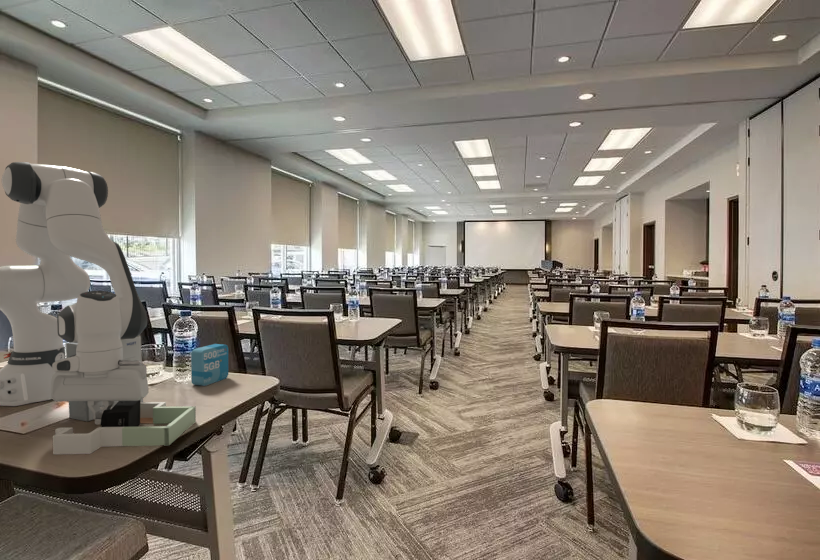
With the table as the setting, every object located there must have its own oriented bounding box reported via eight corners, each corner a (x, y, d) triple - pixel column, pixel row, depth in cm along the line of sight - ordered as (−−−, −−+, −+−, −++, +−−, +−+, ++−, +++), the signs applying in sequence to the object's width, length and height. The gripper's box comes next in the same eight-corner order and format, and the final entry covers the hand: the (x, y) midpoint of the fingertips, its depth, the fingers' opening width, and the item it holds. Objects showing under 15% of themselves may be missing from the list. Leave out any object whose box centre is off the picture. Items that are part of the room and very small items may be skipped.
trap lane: (43, 454, 90) (42, 436, 90) (106, 417, 111) (106, 402, 111) (161, 452, 92) (160, 434, 92) (201, 416, 113) (201, 401, 113)
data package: (201, 387, 138) (201, 350, 138) (191, 385, 140) (190, 349, 139) (228, 377, 150) (228, 343, 149) (218, 376, 151) (218, 342, 150)
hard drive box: (125, 400, 125) (124, 332, 124) (144, 403, 122) (143, 334, 121) (67, 418, 111) (65, 342, 110) (86, 422, 108) (84, 344, 107)
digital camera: (114, 426, 105) (115, 398, 105) (140, 424, 107) (140, 397, 107) (99, 444, 95) (100, 413, 95) (128, 441, 97) (128, 411, 97)
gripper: (153, 357, 104) (154, 413, 105) (65, 357, 103) (66, 414, 103) (138, 363, 98) (139, 423, 98) (44, 364, 96) (46, 424, 97)
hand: (101, 418), depth 101 cm, fingers closed
